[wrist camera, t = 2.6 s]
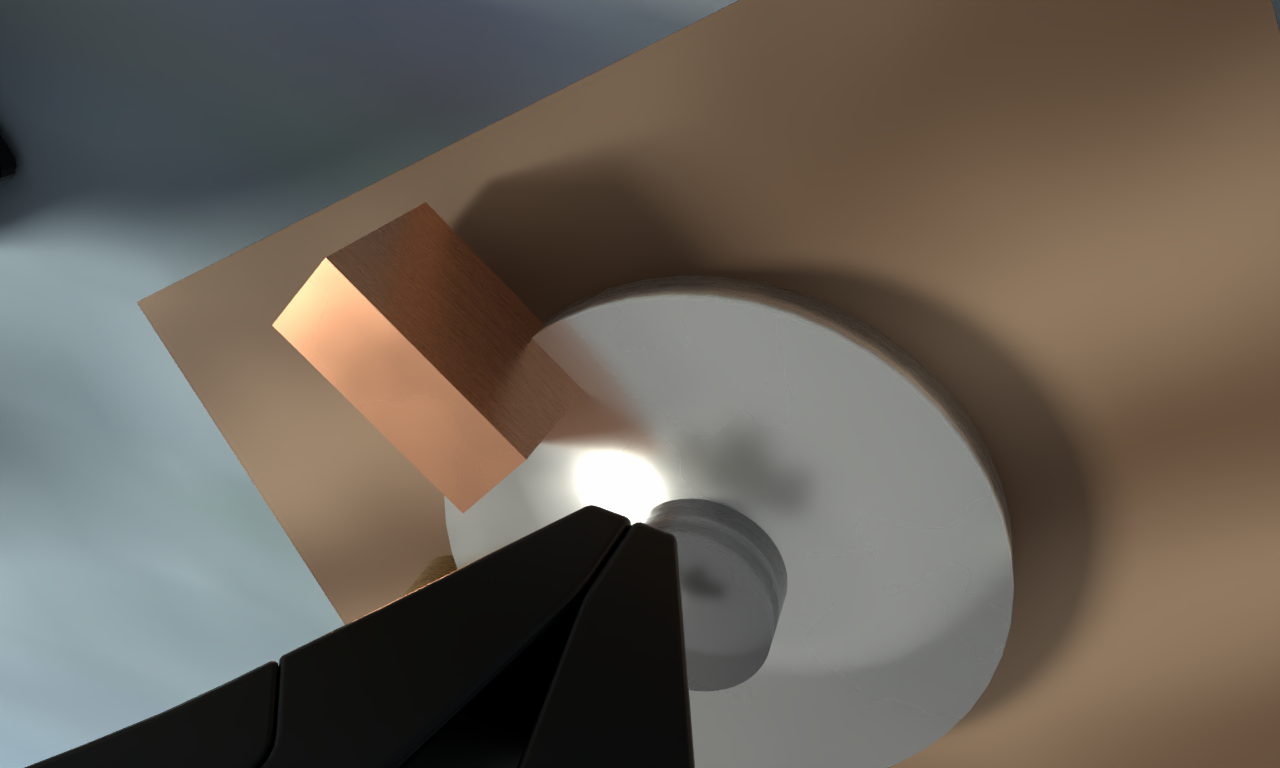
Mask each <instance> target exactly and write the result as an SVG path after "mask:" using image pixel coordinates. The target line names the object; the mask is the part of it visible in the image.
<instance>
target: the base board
mask: <svg viewBox="0 0 1280 768" xmlns="http://www.w3.org/2000/svg"><path fill="white" fill-rule="evenodd" d="M425 202H426V203H427V204H428V205H429V206H430V207H431V208H432V209H433V210H434V211H435V212H436V213H437V214H438V215H439V216H440V217H441V218H442V219H443V220H444V221H445V222H446V223H447V224H448V225H449V226H450V227H451V228H452V229H453V231H454V232H455V233H456V234H457V235H458V236H459V237H460V238H461V239H462V240H463V241H464V242H465V243H466V244H467V245H468V246H469V247H470V248H471V249H472V250H473V251H474V252H475V253H476V254H477V255H478V256H479V257H480V258H481V259H482V260H483V261H484V262H485V264H486V265H487V266H488V267H489V268H490V269H491V270H492V271H493V272H494V273H495V274H496V275H497V276H498V277H499V278H500V279H501V280H502V281H503V282H504V283H505V284H506V285H507V286H508V287H509V288H510V289H511V290H512V291H513V292H514V293H515V294H516V295H517V297H518V298H519V299H520V300H521V301H522V302H523V303H524V304H525V305H526V306H527V307H528V308H529V309H530V310H531V311H532V312H533V313H534V314H535V315H536V316H537V317H538V318H539V319H540V320H541V321H542V322H543V323H545V322H546V321H547V320H548V319H549V318H551V317H552V316H554V315H556V314H557V313H559V312H561V311H562V310H564V309H566V308H568V307H569V306H571V305H573V304H574V303H576V302H578V301H580V300H582V299H585V298H587V297H590V296H592V295H594V294H597V293H599V292H602V291H604V290H607V289H609V288H613V287H617V286H621V285H625V284H629V283H633V282H637V281H641V280H645V279H653V278H663V277H672V276H682V275H690V276H724V277H730V278H737V279H744V280H750V281H757V282H763V283H767V284H770V285H774V286H777V287H781V288H785V289H788V290H792V291H795V292H799V293H802V294H805V295H807V296H810V297H812V298H815V299H817V300H819V301H822V302H824V303H827V304H829V305H831V306H834V307H836V308H839V309H841V310H843V311H845V312H847V313H848V314H850V315H852V316H854V317H856V318H857V319H859V320H861V321H863V322H864V323H866V324H868V325H870V326H871V327H873V328H875V329H877V330H878V331H880V332H881V333H883V334H884V335H885V336H887V337H888V338H889V339H891V340H892V341H893V342H895V343H896V344H898V345H899V346H900V347H902V348H903V349H904V350H906V351H907V352H908V353H910V354H911V355H912V356H914V357H915V358H916V359H917V360H918V361H919V362H920V363H921V364H922V365H923V366H924V367H925V368H926V369H927V370H928V371H929V372H930V373H931V374H932V375H933V376H934V377H935V378H936V379H938V380H939V381H940V382H941V383H942V384H943V385H944V387H945V388H946V389H947V390H948V392H949V393H950V394H951V395H952V397H953V398H954V399H955V400H956V402H957V403H958V404H959V405H960V407H961V408H962V409H963V410H964V412H965V413H966V414H967V415H968V417H969V418H970V420H971V422H972V423H973V425H974V427H975V429H976V430H977V432H978V434H979V435H980V437H981V439H982V440H983V442H984V444H985V445H986V447H987V449H988V451H989V453H990V456H991V458H992V460H993V463H994V465H995V468H996V470H997V473H998V475H999V477H1000V480H1001V482H1002V486H1003V490H1004V494H1005V498H1006V502H1007V506H1008V510H1009V514H1010V520H1011V533H1012V546H1013V581H1014V594H1013V605H1012V615H1011V626H1010V629H1009V633H1008V637H1007V640H1006V644H1005V647H1004V651H1003V654H1002V658H1001V660H1000V662H999V664H998V666H997V668H996V670H995V672H994V674H993V676H992V678H991V680H990V682H989V685H988V686H987V688H986V689H985V690H984V692H983V693H982V694H981V696H980V697H979V699H978V700H977V701H976V703H975V704H974V706H973V707H972V708H971V710H970V711H969V712H968V713H967V714H966V715H965V716H964V717H963V718H962V719H961V720H960V721H959V722H958V723H957V724H956V725H955V726H954V727H953V728H952V729H951V730H950V731H949V732H948V733H946V734H945V735H944V736H942V737H941V738H939V739H938V740H937V741H935V742H934V743H932V744H931V745H930V746H928V747H927V748H925V749H924V750H923V751H921V752H919V753H917V754H915V755H913V756H911V757H909V758H907V759H905V760H903V761H901V762H900V763H898V764H896V765H893V766H890V767H888V768H1280V31H1279V27H1278V23H1277V19H1276V15H1275V11H1274V7H1273V3H1272V0H739V1H737V2H735V3H733V4H731V5H729V6H727V7H725V8H723V9H721V10H719V11H717V12H715V13H713V14H711V15H709V16H707V17H705V18H703V19H701V20H699V21H697V22H695V23H693V24H691V25H689V26H687V27H685V28H683V29H681V30H679V31H677V32H675V33H673V34H671V35H669V36H667V37H665V38H663V39H661V40H659V41H657V42H655V43H653V44H651V45H649V46H647V47H645V48H643V49H641V50H639V51H637V52H635V53H633V54H631V55H629V56H627V57H625V58H623V59H621V60H619V61H617V62H615V63H613V64H611V65H609V66H607V67H605V68H603V69H601V70H599V71H597V72H595V73H593V74H591V75H589V76H587V77H585V78H583V79H581V80H579V81H577V82H575V83H573V84H571V85H569V86H567V87H565V88H563V89H561V90H559V91H557V92H555V93H553V94H551V95H549V96H547V97H545V98H543V99H541V100H539V101H537V102H535V103H533V104H531V105H529V106H527V107H525V108H523V109H521V110H519V111H517V112H515V113H513V114H511V115H509V116H507V117H505V118H503V119H501V120H499V121H497V122H495V123H493V124H491V125H489V126H487V127H485V128H483V129H481V130H479V131H477V132H475V133H473V134H471V135H469V136H467V137H465V138H463V139H461V140H459V141H457V142H455V143H453V144H451V145H449V146H447V147H445V148H443V149H441V150H439V151H437V152H435V153H433V154H431V155H429V156H427V157H425V158H423V159H421V160H419V161H417V162H415V163H413V164H411V165H409V166H407V167H405V168H403V169H401V170H399V171H397V172H395V173H393V174H391V175H389V176H387V177H385V178H383V179H381V180H379V181H377V182H375V183H373V184H371V185H369V186H367V187H365V188H363V189H361V190H359V191H357V192H355V193H353V194H351V195H349V196H347V197H345V198H344V199H342V200H340V201H338V202H336V203H334V204H332V205H330V206H328V207H326V208H324V209H322V210H320V211H318V212H316V213H314V214H312V215H310V216H308V217H306V218H304V219H302V220H300V221H298V222H296V223H294V224H292V225H290V226H288V227H286V228H284V229H282V230H280V231H278V232H276V233H274V234H272V235H270V236H268V237H266V238H264V239H262V240H260V241H258V242H256V243H254V244H252V245H250V246H248V247H246V248H244V249H242V250H240V251H238V252H236V253H234V254H232V255H230V256H228V257H226V258H224V259H222V260H220V261H218V262H216V263H214V264H212V265H210V266H208V267H206V268H204V269H202V270H200V271H198V272H196V273H194V274H192V275H190V276H188V277H186V278H184V279H182V280H180V281H178V282H176V283H174V284H172V285H170V286H168V287H166V288H164V289H162V290H160V291H158V292H156V293H154V294H152V295H150V296H148V297H146V298H144V299H142V300H140V301H138V302H137V303H138V305H139V307H140V308H141V310H142V311H143V313H144V314H145V316H146V317H147V319H148V320H149V322H150V324H151V325H152V327H153V328H154V330H155V331H156V333H157V334H158V336H159V338H160V339H161V341H162V342H163V344H164V345H165V347H166V348H167V350H168V351H169V353H170V355H171V356H172V358H173V359H174V361H175V362H176V364H177V365H178V367H179V368H180V370H181V372H182V373H183V375H184V376H185V378H186V379H187V381H188V382H189V384H190V385H191V387H192V389H193V390H194V392H195V393H196V395H197V396H198V398H199V399H200V401H201V403H202V404H203V406H204V407H205V409H206V410H207V412H208V413H209V415H210V416H211V418H212V420H213V421H214V423H215V424H216V426H217V427H218V429H219V430H220V432H221V433H222V435H223V437H224V438H225V440H226V441H227V443H228V444H229V446H230V447H231V449H232V451H233V452H234V454H235V455H236V457H237V458H238V460H239V461H240V463H241V464H242V466H243V468H244V469H245V471H246V472H247V474H248V475H249V477H250V478H251V480H252V481H253V483H254V485H255V486H256V488H257V489H258V491H259V492H260V494H261V495H262V497H263V498H264V500H265V502H266V503H267V505H268V506H269V508H270V509H271V511H272V512H273V514H274V516H275V517H276V519H277V520H278V522H279V523H280V525H281V526H282V528H283V529H284V531H285V533H286V534H287V536H288V537H289V539H290V540H291V542H292V543H293V545H294V546H295V548H296V550H297V551H298V553H299V554H300V556H301V557H302V559H303V560H304V562H305V563H306V565H307V567H308V568H309V570H310V571H311V573H312V574H313V576H314V577H315V579H316V581H317V582H318V584H319V585H320V587H321V588H322V590H323V591H324V593H325V594H326V596H327V598H328V599H329V601H330V602H331V604H332V605H333V607H334V608H335V610H336V611H337V613H338V615H339V616H340V618H341V619H342V621H343V622H344V624H345V625H346V624H348V623H350V622H352V621H354V620H356V619H358V618H360V617H362V616H364V615H366V614H368V613H370V612H372V611H374V610H376V609H378V608H381V607H383V606H385V605H387V604H389V603H391V602H393V601H395V600H397V599H399V598H401V596H402V595H403V594H404V593H405V592H406V590H407V589H408V588H409V587H410V586H411V584H412V583H413V582H414V581H415V580H416V579H417V577H418V576H419V575H420V574H421V573H422V571H423V570H424V569H425V568H426V567H427V565H428V564H429V563H430V562H431V561H432V560H433V559H435V558H437V557H440V556H447V555H449V556H453V555H452V551H451V546H450V541H449V536H448V531H447V527H446V517H445V502H444V494H443V493H442V492H441V491H440V490H439V489H437V488H436V487H435V486H434V485H433V484H432V483H431V482H430V481H429V480H428V479H427V478H426V477H425V476H424V475H423V474H422V473H421V472H420V471H419V470H418V469H417V468H416V467H415V466H414V465H413V464H412V463H411V462H410V461H409V460H408V459H407V458H406V457H405V456H404V455H403V454H402V453H401V452H400V451H399V450H398V449H397V448H396V447H395V446H394V445H393V444H392V443H391V442H390V441H389V440H388V439H387V438H386V437H385V436H384V435H383V434H382V433H381V432H380V431H379V430H378V429H377V428H376V427H375V426H374V425H373V424H372V423H371V422H370V421H369V420H368V419H367V418H366V417H365V416H364V415H363V414H362V413H361V412H360V411H358V410H357V409H356V408H355V407H354V406H353V405H352V404H351V403H350V402H349V401H348V400H347V399H346V398H345V397H344V396H343V395H342V394H341V393H340V392H339V391H338V390H337V389H336V388H335V387H334V386H333V385H332V384H331V383H330V382H329V381H328V380H327V379H326V378H325V377H324V376H323V375H322V374H321V373H320V372H319V371H318V370H317V369H316V368H315V367H314V366H313V365H312V364H311V363H310V362H309V361H308V360H307V359H306V358H305V357H304V356H303V355H302V354H301V353H300V352H299V351H298V350H297V349H296V348H295V347H294V346H293V345H292V344H291V343H290V342H289V341H288V340H287V339H286V338H285V337H284V336H283V335H282V334H281V333H279V332H278V331H277V330H276V329H275V328H274V327H273V326H272V325H273V324H274V322H275V321H276V320H277V319H278V317H279V316H280V315H281V313H282V312H283V311H284V310H285V308H286V307H287V306H288V305H289V303H290V302H291V301H292V299H293V298H294V297H295V296H296V294H297V293H298V292H299V291H300V289H301V288H302V287H303V286H304V284H305V283H306V282H307V280H308V279H309V278H310V277H311V275H312V274H313V273H314V272H315V270H316V269H317V268H318V266H319V265H320V264H321V263H322V261H323V260H324V259H325V258H326V257H327V256H329V255H331V254H333V253H335V252H336V251H338V250H340V249H342V248H344V247H345V246H347V245H349V244H351V243H353V242H355V241H356V240H358V239H360V238H362V237H364V236H365V235H367V234H369V233H371V232H373V231H374V230H376V229H378V228H380V227H382V226H384V225H385V224H387V223H389V222H391V221H393V220H394V219H396V218H398V217H400V216H402V215H404V214H405V213H407V212H409V211H411V210H413V209H414V208H416V207H418V206H420V205H422V204H423V203H425Z"/></svg>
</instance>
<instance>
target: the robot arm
mask: <svg viewBox="0 0 1280 768" xmlns="http://www.w3.org/2000/svg"><path fill="white" fill-rule="evenodd" d="M15 173H16V162H15V158H14V156H13V154H12V152H11V150H10V148H9V147H8V145H7V144H6V142H5V141H4V139H3V138H2V136H1V135H0V186H1V185H2V184H4V183H5V182H7V181H8V180H10V179H11V178H12V177H13V176H14V175H15ZM25 768H695V761H694V748H693V735H692V722H691V709H690V697H689V684H688V671H687V658H686V645H685V632H684V619H683V606H682V593H681V580H680V567H679V554H678V542H677V539H676V537H675V536H674V535H673V534H672V533H670V532H667V531H664V530H661V529H659V528H656V527H653V526H650V525H648V524H645V523H642V522H637V523H634V524H632V525H631V521H630V520H629V518H627V517H626V516H623V515H620V514H618V513H615V512H612V511H609V510H607V509H604V508H601V507H599V506H594V505H590V506H586V507H583V508H581V509H579V510H577V511H575V512H573V513H571V514H569V515H567V516H565V517H563V518H561V519H559V520H557V521H555V522H553V523H551V524H549V525H547V526H545V527H543V528H541V529H539V530H537V531H535V532H533V533H531V534H529V535H527V536H525V537H522V538H520V539H518V540H516V541H514V542H512V543H510V544H508V545H506V546H504V547H502V548H500V549H498V550H496V551H494V552H492V553H490V554H488V555H486V556H484V557H482V558H480V559H478V560H476V561H474V562H472V563H470V564H468V565H466V566H464V567H462V568H460V569H458V570H456V571H454V572H452V573H449V574H447V575H445V576H443V577H441V578H439V579H437V580H435V581H433V582H431V583H429V584H427V585H425V586H423V587H421V588H419V589H417V590H415V591H413V592H411V593H409V594H407V595H405V596H403V597H401V598H399V599H397V600H395V601H393V602H391V603H389V604H387V605H385V606H383V607H381V608H378V609H376V610H374V611H372V612H370V613H368V614H366V615H364V616H362V617H360V618H358V619H356V620H354V621H352V622H350V623H348V624H346V625H344V626H342V627H340V628H338V629H336V630H334V631H332V632H330V633H328V634H326V635H324V636H322V637H320V638H318V639H316V640H314V641H312V642H310V643H307V644H305V645H303V646H301V647H299V648H297V649H295V650H293V651H291V652H289V653H287V654H285V655H283V656H282V657H281V658H280V660H279V666H278V663H277V662H275V661H270V662H268V663H266V664H264V665H262V666H260V667H258V668H256V669H254V670H252V671H250V672H248V673H246V674H244V675H242V676H240V677H238V678H236V679H234V680H232V681H230V682H227V683H225V684H223V685H221V686H219V687H217V688H214V689H212V690H210V691H208V692H206V693H204V694H201V695H199V696H197V697H195V698H193V699H191V700H188V701H186V702H184V703H182V704H180V705H178V706H176V707H173V708H171V709H169V710H167V711H165V712H162V713H160V714H158V715H155V716H153V717H150V718H148V719H145V720H143V721H141V722H138V723H136V724H133V725H131V726H128V727H126V728H123V729H121V730H119V731H116V732H114V733H111V734H109V735H106V736H104V737H101V738H99V739H97V740H94V741H92V742H89V743H87V744H84V745H82V746H79V747H77V748H74V749H71V750H69V751H66V752H64V753H61V754H59V755H56V756H53V757H51V758H48V759H46V760H43V761H40V762H38V763H35V764H33V765H30V766H27V767H25Z"/></svg>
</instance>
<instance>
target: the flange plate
mask: <svg viewBox="0 0 1280 768" xmlns="http://www.w3.org/2000/svg"><path fill="white" fill-rule="evenodd" d="M272 326H273V327H274V328H275V329H276V330H277V331H278V332H279V333H281V334H282V335H283V336H284V337H285V338H286V339H287V340H288V341H289V342H290V343H291V344H292V345H293V346H294V347H295V348H296V349H297V350H298V351H299V352H300V353H301V354H302V355H303V356H304V357H305V358H306V359H307V360H308V361H309V362H310V363H311V364H312V365H313V366H314V367H315V368H316V369H317V370H318V371H319V372H320V373H321V374H322V375H323V376H324V377H325V378H326V379H327V380H328V381H329V382H330V383H331V384H332V385H333V386H334V387H335V388H336V389H337V390H338V391H339V392H340V393H341V394H342V395H343V396H344V397H345V398H346V399H347V400H348V401H349V402H350V403H351V404H352V405H353V406H354V407H355V408H356V409H357V410H358V411H360V412H361V413H362V414H363V415H364V416H365V417H366V418H367V419H368V420H369V421H370V422H371V423H372V424H373V425H374V426H375V427H376V428H377V429H378V430H379V431H380V432H381V433H382V434H383V435H384V436H385V437H386V438H387V439H388V440H389V441H390V442H391V443H392V444H393V445H394V446H395V447H396V448H397V449H398V450H399V451H400V452H401V453H402V454H403V455H404V456H405V457H406V458H407V459H408V460H409V461H410V462H411V463H412V464H413V465H414V466H415V467H416V468H417V469H418V470H419V471H420V472H421V473H422V474H423V475H424V476H425V477H426V478H427V479H428V480H429V481H430V482H431V483H432V484H433V485H434V486H435V487H436V488H437V489H439V490H440V491H441V492H442V493H443V494H444V502H445V517H446V527H447V531H448V536H449V541H450V546H451V551H452V555H453V557H454V560H455V563H456V566H457V569H460V568H462V567H464V566H466V565H468V564H470V563H472V562H474V561H476V560H478V559H480V558H482V557H484V556H486V555H488V554H490V553H492V552H494V551H496V550H498V549H500V548H502V547H504V546H506V545H508V544H510V543H512V542H514V541H516V540H518V539H520V538H522V537H525V536H527V535H529V534H531V533H533V532H535V531H537V530H539V529H541V528H543V527H545V526H547V525H549V524H551V523H553V522H555V521H557V520H559V519H561V518H563V517H565V516H567V515H569V514H571V513H573V512H575V511H577V510H579V509H581V508H583V507H586V506H590V505H594V506H599V507H601V508H604V509H607V510H609V511H612V512H615V513H618V514H620V515H623V516H626V517H627V518H629V520H630V521H631V525H632V524H634V523H637V522H642V523H645V524H648V525H650V526H653V527H656V528H659V529H661V530H664V531H667V532H670V533H672V534H673V535H674V536H675V537H676V539H677V542H678V554H679V567H680V580H681V593H682V606H683V619H684V632H685V645H686V658H687V671H688V684H689V697H690V709H691V722H692V735H693V748H694V761H695V768H888V767H890V766H893V765H896V764H898V763H900V762H901V761H903V760H905V759H907V758H909V757H911V756H913V755H915V754H917V753H919V752H921V751H923V750H924V749H925V748H927V747H928V746H930V745H931V744H932V743H934V742H935V741H937V740H938V739H939V738H941V737H942V736H944V735H945V734H946V733H948V732H949V731H950V730H951V729H952V728H953V727H954V726H955V725H956V724H957V723H958V722H959V721H960V720H961V719H962V718H963V717H964V716H965V715H966V714H967V713H968V712H969V711H970V710H971V708H972V707H973V706H974V704H975V703H976V701H977V700H978V699H979V697H980V696H981V694H982V693H983V692H984V690H985V689H986V688H987V686H988V685H989V682H990V680H991V678H992V676H993V674H994V672H995V670H996V668H997V666H998V664H999V662H1000V660H1001V658H1002V654H1003V651H1004V647H1005V644H1006V640H1007V637H1008V633H1009V629H1010V626H1011V615H1012V605H1013V594H1014V581H1013V546H1012V533H1011V520H1010V514H1009V510H1008V506H1007V502H1006V498H1005V494H1004V490H1003V486H1002V482H1001V480H1000V477H999V475H998V473H997V470H996V468H995V465H994V463H993V460H992V458H991V456H990V453H989V451H988V449H987V447H986V445H985V444H984V442H983V440H982V439H981V437H980V435H979V434H978V432H977V430H976V429H975V427H974V425H973V423H972V422H971V420H970V418H969V417H968V415H967V414H966V413H965V412H964V410H963V409H962V408H961V407H960V405H959V404H958V403H957V402H956V400H955V399H954V398H953V397H952V395H951V394H950V393H949V392H948V390H947V389H946V388H945V387H944V385H943V384H942V383H941V382H940V381H939V380H938V379H936V378H935V377H934V376H933V375H932V374H931V373H930V372H929V371H928V370H927V369H926V368H925V367H924V366H923V365H922V364H921V363H920V362H919V361H918V360H917V359H916V358H915V357H914V356H912V355H911V354H910V353H908V352H907V351H906V350H904V349H903V348H902V347H900V346H899V345H898V344H896V343H895V342H893V341H892V340H891V339H889V338H888V337H887V336H885V335H884V334H883V333H881V332H880V331H878V330H877V329H875V328H873V327H871V326H870V325H868V324H866V323H864V322H863V321H861V320H859V319H857V318H856V317H854V316H852V315H850V314H848V313H847V312H845V311H843V310H841V309H839V308H836V307H834V306H831V305H829V304H827V303H824V302H822V301H819V300H817V299H815V298H812V297H810V296H807V295H805V294H802V293H799V292H795V291H792V290H788V289H785V288H781V287H777V286H774V285H770V284H767V283H763V282H757V281H750V280H744V279H737V278H730V277H724V276H690V275H682V276H672V277H663V278H653V279H645V280H641V281H637V282H633V283H629V284H625V285H621V286H617V287H613V288H609V289H607V290H604V291H602V292H599V293H597V294H594V295H592V296H590V297H587V298H585V299H582V300H580V301H578V302H576V303H574V304H573V305H571V306H569V307H568V308H566V309H564V310H562V311H561V312H559V313H557V314H556V315H554V316H552V317H551V318H549V319H548V320H547V321H546V322H545V323H543V322H542V321H541V320H540V319H539V318H538V317H537V316H536V315H535V314H534V313H533V312H532V311H531V310H530V309H529V308H528V307H527V306H526V305H525V304H524V303H523V302H522V301H521V300H520V299H519V298H518V297H517V295H516V294H515V293H514V292H513V291H512V290H511V289H510V288H509V287H508V286H507V285H506V284H505V283H504V282H503V281H502V280H501V279H500V278H499V277H498V276H497V275H496V274H495V273H494V272H493V271H492V270H491V269H490V268H489V267H488V266H487V265H486V264H485V262H484V261H483V260H482V259H481V258H480V257H479V256H478V255H477V254H476V253H475V252H474V251H473V250H472V249H471V248H470V247H469V246H468V245H467V244H466V243H465V242H464V241H463V240H462V239H461V238H460V237H459V236H458V235H457V234H456V233H455V232H454V231H453V229H452V228H451V227H450V226H449V225H448V224H447V223H446V222H445V221H444V220H443V219H442V218H441V217H440V216H439V215H438V214H437V213H436V212H435V211H434V210H433V209H432V208H431V207H430V206H429V205H428V204H427V203H426V202H425V203H423V204H422V205H420V206H418V207H416V208H414V209H413V210H411V211H409V212H407V213H405V214H404V215H402V216H400V217H398V218H396V219H394V220H393V221H391V222H389V223H387V224H385V225H384V226H382V227H380V228H378V229H376V230H374V231H373V232H371V233H369V234H367V235H365V236H364V237H362V238H360V239H358V240H356V241H355V242H353V243H351V244H349V245H347V246H345V247H344V248H342V249H340V250H338V251H336V252H335V253H333V254H331V255H329V256H327V257H326V258H325V259H324V260H323V261H322V263H321V264H320V265H319V266H318V268H317V269H316V270H315V272H314V273H313V274H312V275H311V277H310V278H309V279H308V280H307V282H306V283H305V284H304V286H303V287H302V288H301V289H300V291H299V292H298V293H297V294H296V296H295V297H294V298H293V299H292V301H291V302H290V303H289V305H288V306H287V307H286V308H285V310H284V311H283V312H282V313H281V315H280V316H279V317H278V319H277V320H276V321H275V322H274V324H273V325H272Z"/></svg>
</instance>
